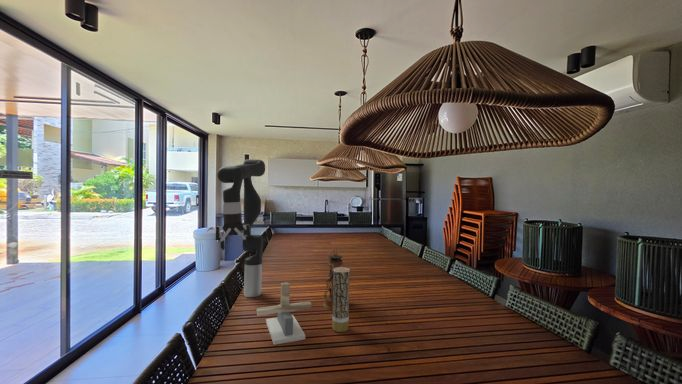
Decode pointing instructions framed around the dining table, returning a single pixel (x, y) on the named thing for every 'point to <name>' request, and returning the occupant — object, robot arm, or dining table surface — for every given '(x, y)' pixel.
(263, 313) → the birch T-bar
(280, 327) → the ridge stand
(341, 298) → the bark print canister
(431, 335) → the dining table surface
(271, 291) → the dining table surface
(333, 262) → the lantern
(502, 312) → the dining table surface
